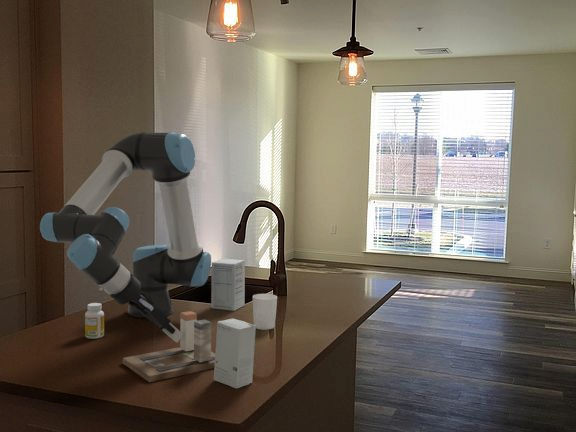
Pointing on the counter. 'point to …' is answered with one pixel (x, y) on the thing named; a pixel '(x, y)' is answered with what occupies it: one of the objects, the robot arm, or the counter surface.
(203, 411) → the counter surface
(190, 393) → the counter surface
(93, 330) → the supplement bottle
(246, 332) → the skincare box
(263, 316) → the white cup
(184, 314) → the tab
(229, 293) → the supplement box
